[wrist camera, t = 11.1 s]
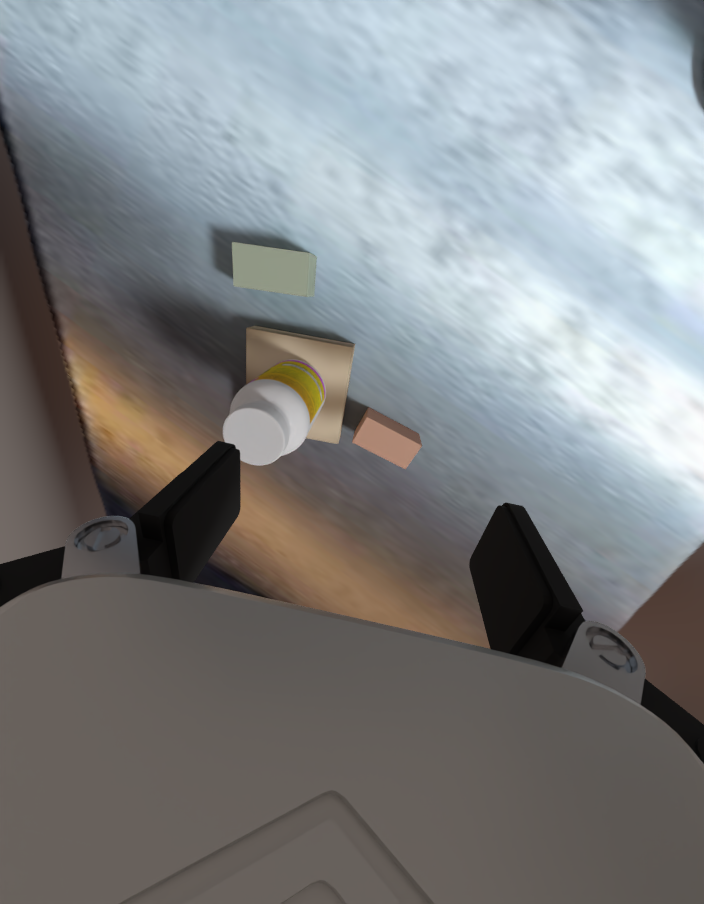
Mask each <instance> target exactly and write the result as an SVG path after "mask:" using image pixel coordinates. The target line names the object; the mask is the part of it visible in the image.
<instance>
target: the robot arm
mask: <svg viewBox="0 0 704 904" xmlns="http://www.w3.org/2000/svg"><path fill="white" fill-rule="evenodd" d="M239 512H240V450H239V449H236V446H235V445H234V444H230V443H226V442H221V441H217V442H216V443H215V444H214V445H212V446H211V447H210V448H209V449H208V450H207V451H206V452H205V453H204V454H202V455H201V456H200V457H199V458H198V459H197V460H196V461H195V462H193V463H192V464H191V465H190V466H189V467H188V468H187V469H186V470H185V471H183V472H182V473H180V474H179V475H178V476H177V477H176V478H175V479H173V480H172V481H171V482H170V483H169V484H168V485H167V486H166V487H165V488H163V489H162V490H161V491H160V492H159V493H158V494H157V495H156V496H154V497H153V498H152V499H151V500H150V501H149V502H148V503H147V504H145V505H144V506H143V507H142V508H141V509H140V510H139V511H138V512H136V513H135V514H134V515H133V516H132V517H131V518H130V519H128V518H125V517H121V516H108V517H101V518H98V519H94V520H91V521H89V522H87V523H85V524H83V525H81V526H80V527H78V528H77V529H75V530H74V531H73V532H72V533H71V534H70V535H69V537H68V539H67V541H66V545H65V547H61V548H57V549H53V550H50V551H46V552H43V553H39V554H35V555H32V556H28V557H24V558H21V559H17V560H14V561H10V562H7V563H3V564H0V904H704V725H703V724H702V723H701V722H699V721H698V720H697V719H696V718H694V717H693V716H692V715H691V714H689V713H688V712H687V711H685V710H684V709H683V708H682V707H680V706H679V705H678V704H677V703H675V702H674V701H673V700H671V699H670V698H669V697H668V696H666V695H665V694H664V693H663V692H661V691H660V690H659V689H657V688H656V687H655V686H654V685H652V684H651V683H650V682H648V681H647V680H646V679H645V674H646V673H645V665H644V663H643V661H642V659H641V657H640V655H639V654H638V652H637V651H636V650H635V648H634V647H633V646H632V645H631V644H630V643H629V642H628V641H627V640H626V639H625V638H624V637H622V636H621V635H620V634H619V633H617V632H616V631H615V630H613V629H611V628H610V627H608V626H606V625H604V624H601V623H599V622H594V621H585V620H584V618H583V616H582V614H581V613H582V612H583V610H582V608H581V606H580V604H579V602H578V601H577V599H576V597H575V595H574V594H573V592H572V590H571V588H570V587H569V585H568V583H567V581H566V580H565V578H564V576H563V574H562V573H561V571H560V569H559V567H558V566H557V564H556V562H555V560H554V559H553V557H552V555H551V553H550V552H549V550H548V548H547V546H546V545H545V543H544V541H543V539H542V538H541V536H540V534H539V532H538V531H537V529H536V527H535V525H534V524H533V522H532V520H531V518H530V517H529V515H528V513H527V511H526V510H525V508H524V507H523V506H519V505H515V504H510V503H504V504H503V505H502V506H498V507H497V508H496V510H495V512H494V514H493V515H492V517H491V519H490V521H489V523H488V525H487V527H486V529H485V531H484V533H483V535H482V537H481V539H480V541H479V543H478V545H477V547H476V548H475V550H474V552H473V554H472V556H471V559H470V571H471V575H472V579H473V583H474V586H475V590H476V594H477V598H478V602H479V606H480V610H481V614H482V617H483V621H484V625H485V629H486V633H487V637H488V641H489V644H490V648H491V649H488V648H484V647H480V646H475V645H471V644H467V643H462V642H458V641H454V640H449V639H445V638H441V637H436V636H432V635H428V634H424V633H419V632H415V631H411V630H406V629H402V628H397V627H393V626H389V625H384V624H380V623H375V622H371V621H367V620H362V619H358V618H353V617H349V616H344V615H340V614H335V613H331V612H327V611H322V610H318V609H313V608H309V607H304V606H300V605H295V604H291V603H286V602H281V601H277V600H272V599H268V598H263V597H259V596H254V595H250V594H245V593H240V592H236V591H231V590H227V589H222V588H217V587H212V586H207V585H202V584H197V583H193V582H194V581H195V579H196V578H197V576H198V575H199V573H200V572H201V570H202V569H203V567H204V566H205V564H206V563H207V561H208V560H209V558H210V557H211V555H212V554H213V553H214V551H215V550H216V548H217V547H218V545H219V544H220V542H221V541H222V539H223V538H224V536H225V535H226V533H227V532H228V530H229V529H230V527H231V526H232V524H233V523H234V521H235V520H236V518H237V517H238V515H239Z"/></svg>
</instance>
